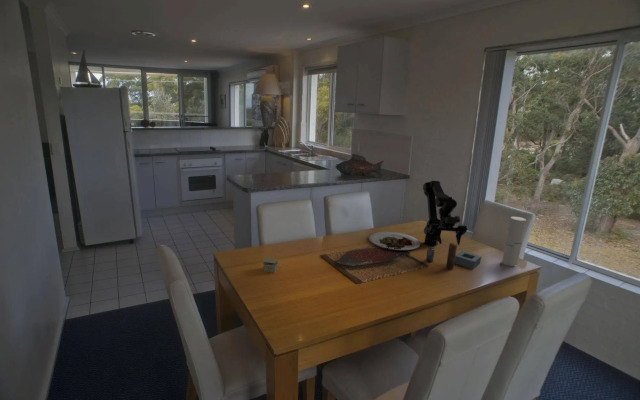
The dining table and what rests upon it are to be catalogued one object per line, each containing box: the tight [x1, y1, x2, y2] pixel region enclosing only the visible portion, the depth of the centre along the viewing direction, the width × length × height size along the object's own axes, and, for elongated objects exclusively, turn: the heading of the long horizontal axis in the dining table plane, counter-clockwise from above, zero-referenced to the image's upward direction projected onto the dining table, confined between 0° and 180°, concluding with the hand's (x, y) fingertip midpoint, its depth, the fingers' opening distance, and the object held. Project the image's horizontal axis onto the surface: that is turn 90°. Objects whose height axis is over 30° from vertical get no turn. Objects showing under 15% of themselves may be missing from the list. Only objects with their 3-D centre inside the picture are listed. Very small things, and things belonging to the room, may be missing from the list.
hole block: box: [454, 250, 482, 270], centre depth 190 cm, size 10×10×4 cm
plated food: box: [368, 231, 421, 251], centre depth 215 cm, size 30×30×3 cm
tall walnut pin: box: [445, 241, 458, 270], centre depth 182 cm, size 4×4×13 cm
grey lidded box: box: [262, 256, 279, 274], centre depth 169 cm, size 10×9×6 cm
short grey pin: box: [425, 246, 435, 263], centre depth 190 cm, size 4×4×7 cm
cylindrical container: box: [501, 216, 527, 267], centre depth 191 cm, size 7×7×25 cm
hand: (449, 244), depth 185 cm, fingers open, 9 cm apart
